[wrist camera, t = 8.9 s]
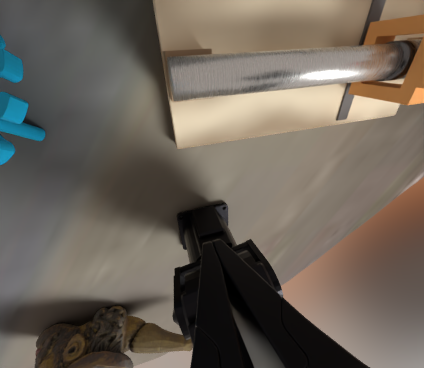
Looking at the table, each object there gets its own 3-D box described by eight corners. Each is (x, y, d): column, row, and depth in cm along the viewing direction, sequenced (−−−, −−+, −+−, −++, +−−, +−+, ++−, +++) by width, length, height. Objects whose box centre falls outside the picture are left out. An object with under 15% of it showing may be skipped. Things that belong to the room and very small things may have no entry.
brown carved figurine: (27, 320, 27) (-22, 433, 19) (184, 278, 32) (197, 354, 24) (57, 345, 32) (27, 443, 24) (188, 306, 37) (200, 376, 29)
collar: (364, 91, 20) (461, 107, 14) (348, 93, 19) (439, 111, 13) (389, 21, 17) (527, 3, 11) (370, 22, 16) (502, 3, 10)
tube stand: (382, 112, 25) (444, 127, 20) (175, 143, 19) (186, 175, 14) (440, -24, 18) (557, -55, 13) (147, -33, 13) (148, -92, 8)
